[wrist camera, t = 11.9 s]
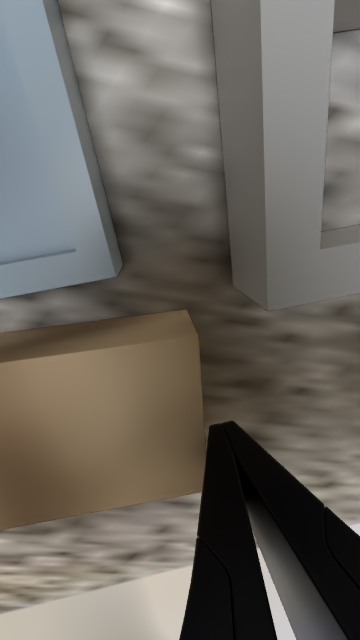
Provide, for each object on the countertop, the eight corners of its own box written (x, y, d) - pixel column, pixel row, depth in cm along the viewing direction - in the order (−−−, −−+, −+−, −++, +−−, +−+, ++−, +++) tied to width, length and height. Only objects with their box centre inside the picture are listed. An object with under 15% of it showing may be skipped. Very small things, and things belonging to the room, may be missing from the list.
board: (184, 305, 9) (198, 335, 6) (195, 433, 11) (209, 490, 8) (-127, 344, 8) (-244, 396, 5) (-45, 474, 10) (-102, 549, 8)
